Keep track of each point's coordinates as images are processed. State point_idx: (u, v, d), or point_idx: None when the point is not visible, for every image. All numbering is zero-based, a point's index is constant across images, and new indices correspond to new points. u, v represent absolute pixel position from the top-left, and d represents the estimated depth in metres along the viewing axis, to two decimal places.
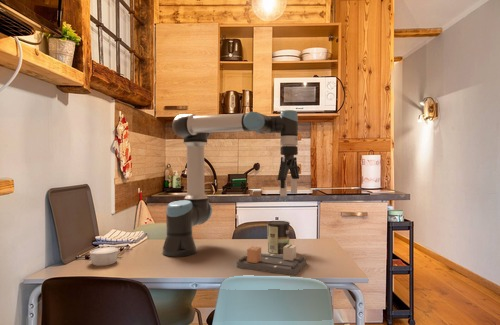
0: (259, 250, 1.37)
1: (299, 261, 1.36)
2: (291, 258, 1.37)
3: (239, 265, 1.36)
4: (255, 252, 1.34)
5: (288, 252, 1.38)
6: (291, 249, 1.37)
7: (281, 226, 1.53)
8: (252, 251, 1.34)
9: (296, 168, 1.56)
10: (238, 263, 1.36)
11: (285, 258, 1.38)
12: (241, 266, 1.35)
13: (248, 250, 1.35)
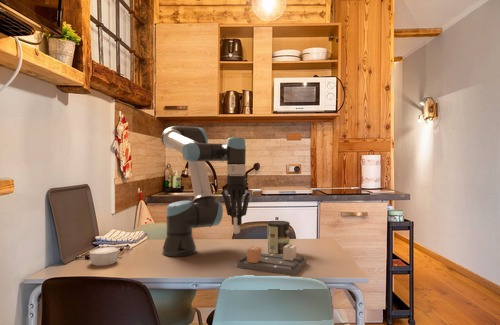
0: (259, 250, 1.37)
1: (299, 261, 1.36)
2: (291, 258, 1.37)
3: (239, 265, 1.36)
4: (255, 252, 1.34)
5: (288, 252, 1.38)
6: (291, 249, 1.37)
7: (281, 226, 1.53)
8: (252, 251, 1.34)
9: (243, 204, 1.38)
10: (238, 263, 1.36)
11: (285, 258, 1.38)
12: (241, 266, 1.35)
13: (248, 250, 1.35)
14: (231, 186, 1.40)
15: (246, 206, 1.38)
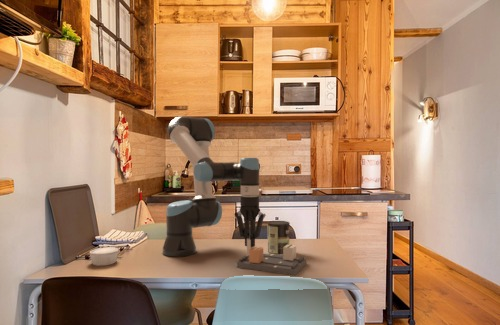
0: (261, 250, 1.36)
1: (299, 261, 1.36)
2: (291, 258, 1.37)
3: (239, 265, 1.36)
4: (257, 252, 1.34)
5: (288, 252, 1.38)
6: (291, 249, 1.37)
7: (281, 226, 1.53)
8: (254, 251, 1.34)
9: None
10: (238, 263, 1.36)
11: (285, 258, 1.38)
12: (241, 266, 1.35)
13: (250, 250, 1.35)
14: (244, 207, 1.37)
15: (260, 228, 1.36)
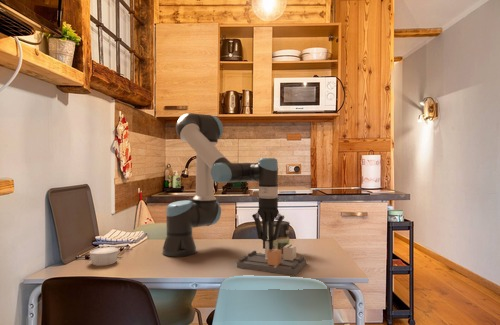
0: (280, 252, 1.33)
1: (299, 261, 1.36)
2: (291, 258, 1.37)
3: (239, 265, 1.36)
4: (276, 254, 1.30)
5: (288, 252, 1.38)
6: (291, 249, 1.37)
7: (281, 226, 1.53)
8: (273, 253, 1.31)
9: None
10: (238, 263, 1.36)
11: (285, 258, 1.38)
12: (241, 266, 1.35)
13: (269, 252, 1.32)
14: (263, 208, 1.34)
15: (278, 230, 1.33)
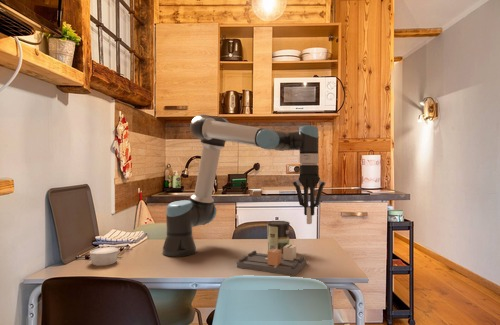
0: (280, 252, 1.33)
1: (299, 261, 1.36)
2: (291, 258, 1.37)
3: (239, 265, 1.36)
4: (276, 254, 1.30)
5: (288, 252, 1.38)
6: (291, 249, 1.37)
7: (281, 226, 1.53)
8: (273, 253, 1.31)
9: (317, 193, 1.34)
10: (238, 263, 1.36)
11: (285, 258, 1.38)
12: (241, 266, 1.35)
13: (269, 252, 1.32)
14: (304, 175, 1.37)
15: (320, 196, 1.35)
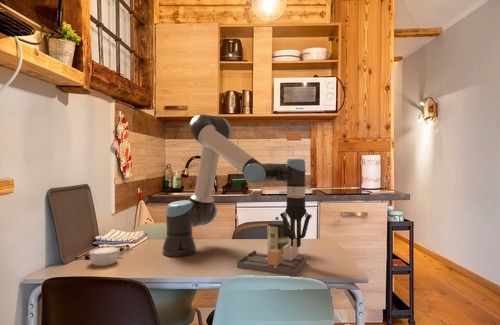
0: (280, 252, 1.33)
1: (299, 261, 1.36)
2: (290, 258, 1.37)
3: (239, 265, 1.36)
4: (276, 254, 1.30)
5: (287, 252, 1.38)
6: (290, 249, 1.37)
7: (281, 226, 1.53)
8: (273, 253, 1.31)
9: (303, 226, 1.37)
10: (238, 263, 1.36)
11: (284, 258, 1.38)
12: (241, 266, 1.35)
13: (269, 252, 1.32)
14: (290, 208, 1.39)
15: (306, 228, 1.37)
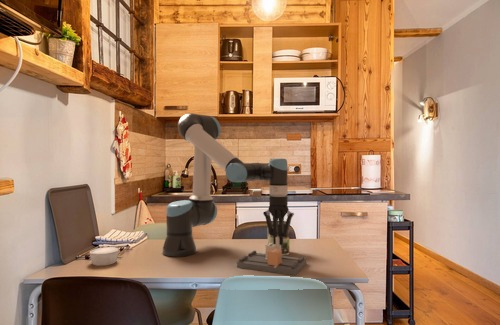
0: (280, 252, 1.33)
1: (299, 261, 1.36)
2: None
3: (239, 265, 1.36)
4: (276, 254, 1.30)
5: None
6: (273, 247, 1.40)
7: None
8: (273, 253, 1.31)
9: None
10: (238, 263, 1.36)
11: (267, 256, 1.41)
12: (241, 266, 1.35)
13: (269, 252, 1.32)
14: (273, 206, 1.42)
15: (288, 226, 1.40)
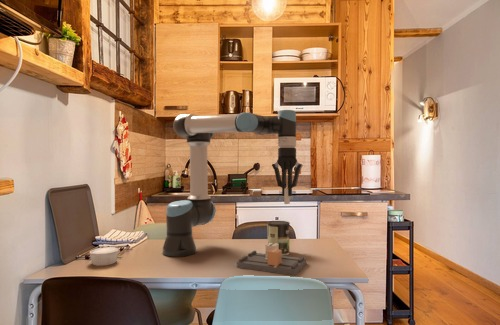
0: (280, 252, 1.33)
1: (299, 261, 1.36)
2: None
3: (239, 265, 1.36)
4: (276, 254, 1.30)
5: None
6: (273, 247, 1.40)
7: (281, 226, 1.53)
8: (273, 253, 1.31)
9: (294, 175, 1.41)
10: (238, 263, 1.36)
11: (267, 256, 1.41)
12: (241, 266, 1.35)
13: (269, 252, 1.32)
14: (282, 158, 1.43)
15: (297, 177, 1.41)
